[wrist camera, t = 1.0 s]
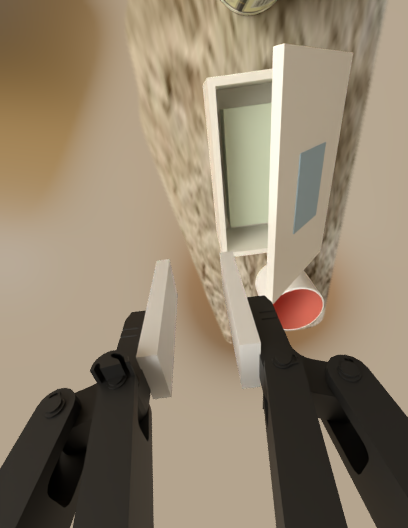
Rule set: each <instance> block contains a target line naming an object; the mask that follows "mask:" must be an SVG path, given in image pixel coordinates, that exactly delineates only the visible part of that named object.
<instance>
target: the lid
mask: <svg viewBox="0 0 408 528" xmlns="http://www.w3.org/2000/svg"><path fill="white" fill-rule="evenodd" d="M352 57H353V52H345V51H338V50H330V49H323V48H315V47H308V46H300V45H293V44H286V43H284V44H281V45H277V46H273V72H272V107H271V143H270V179H269V214H268V250H267V286H266V297H267V298H268V299H269V300H270V301H271V302H272V304H274V303H275V302H276V301H277V299H278V298H279V297H280V296H281V295H282V294H283V293H284V292H285V290H286V289H287V288H288V287H289V286H290V285H291V284H292V283H293V281H294V280H295V279H296V278H297V277H298V276H299V275H300V274H301V272H302V271H303V270H304V269H305V268H306V267H307V266H308V265H309V263H310V262H311V261H312V260H313V259H314V258H315V257H316V255H317V254H318V253H319V252H320V251H321V247H322V241H323V235H324V228H325V222H326V216H327V210H328V204H329V198H330V192H331V186H332V180H333V173H334V167H335V161H336V155H337V149H338V143H339V137H340V131H341V125H342V119H343V112H344V106H345V100H346V94H347V88H348V82H349V76H350V70H351V64H352Z"/></svg>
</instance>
